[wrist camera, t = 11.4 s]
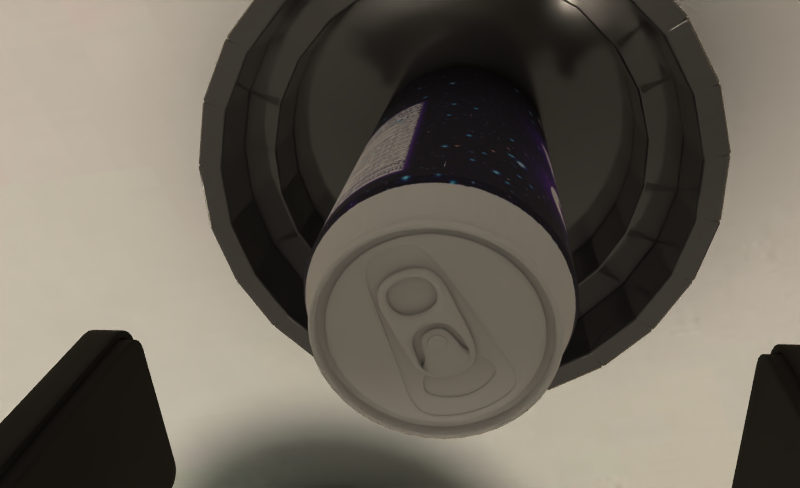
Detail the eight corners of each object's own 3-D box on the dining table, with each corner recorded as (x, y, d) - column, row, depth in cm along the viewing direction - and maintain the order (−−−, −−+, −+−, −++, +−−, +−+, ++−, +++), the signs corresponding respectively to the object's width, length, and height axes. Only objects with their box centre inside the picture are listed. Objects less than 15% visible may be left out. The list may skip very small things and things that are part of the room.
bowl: (218, -80, 22) (149, -76, 18) (710, -115, 20) (772, -121, 16) (282, 319, 29) (243, 396, 24) (660, 323, 27) (693, 408, 22)
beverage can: (422, 242, 26) (371, 484, 15) (350, 105, 24) (232, 270, 13) (569, 184, 24) (629, 408, 13) (504, 31, 22) (514, 150, 11)
